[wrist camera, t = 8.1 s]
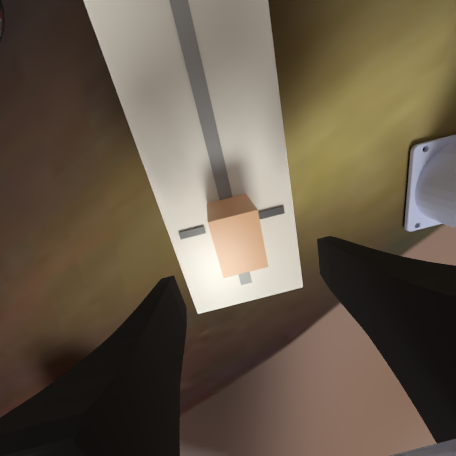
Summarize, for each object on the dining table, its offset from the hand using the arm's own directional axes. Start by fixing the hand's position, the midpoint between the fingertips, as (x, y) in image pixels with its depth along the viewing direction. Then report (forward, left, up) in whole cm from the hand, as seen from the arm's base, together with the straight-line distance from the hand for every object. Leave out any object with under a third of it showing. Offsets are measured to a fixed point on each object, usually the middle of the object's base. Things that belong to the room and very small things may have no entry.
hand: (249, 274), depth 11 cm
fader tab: (0, 0, -7) cm, 7 cm away
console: (0, -5, -9) cm, 11 cm away
